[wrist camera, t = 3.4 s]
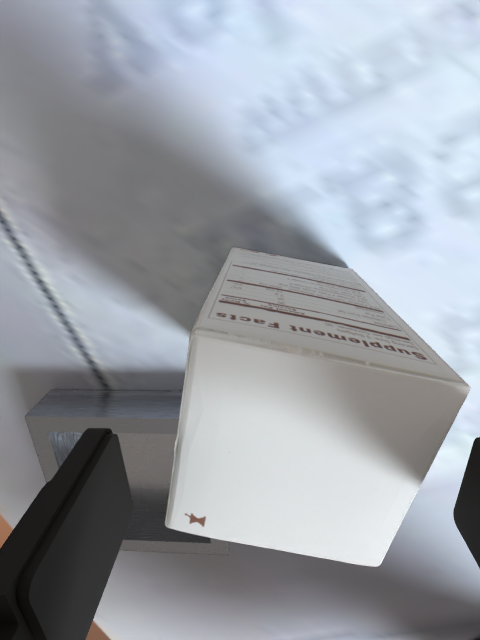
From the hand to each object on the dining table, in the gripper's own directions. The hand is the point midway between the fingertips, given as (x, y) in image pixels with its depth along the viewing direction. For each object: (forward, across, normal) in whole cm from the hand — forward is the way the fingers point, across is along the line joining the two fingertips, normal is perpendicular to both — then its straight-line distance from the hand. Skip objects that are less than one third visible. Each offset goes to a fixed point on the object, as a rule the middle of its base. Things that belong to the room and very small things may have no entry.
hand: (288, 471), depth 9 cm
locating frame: (+13, +10, +13) cm, 20 cm away
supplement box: (+13, 0, +1) cm, 13 cm away
